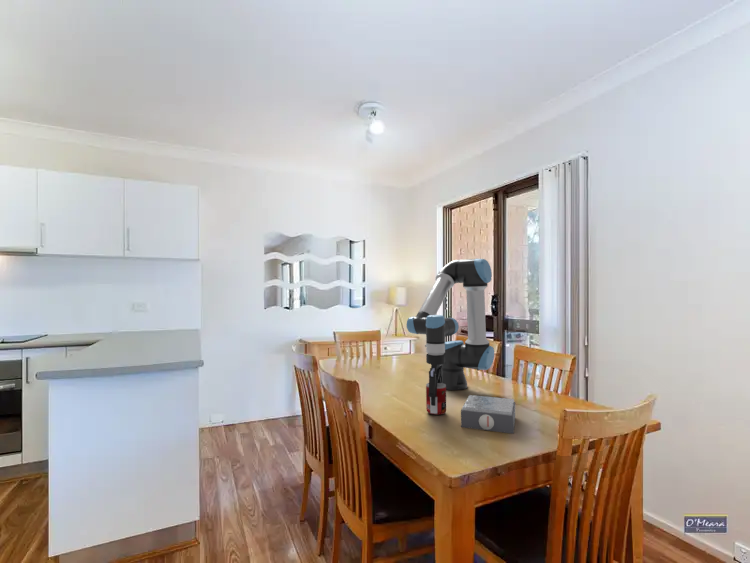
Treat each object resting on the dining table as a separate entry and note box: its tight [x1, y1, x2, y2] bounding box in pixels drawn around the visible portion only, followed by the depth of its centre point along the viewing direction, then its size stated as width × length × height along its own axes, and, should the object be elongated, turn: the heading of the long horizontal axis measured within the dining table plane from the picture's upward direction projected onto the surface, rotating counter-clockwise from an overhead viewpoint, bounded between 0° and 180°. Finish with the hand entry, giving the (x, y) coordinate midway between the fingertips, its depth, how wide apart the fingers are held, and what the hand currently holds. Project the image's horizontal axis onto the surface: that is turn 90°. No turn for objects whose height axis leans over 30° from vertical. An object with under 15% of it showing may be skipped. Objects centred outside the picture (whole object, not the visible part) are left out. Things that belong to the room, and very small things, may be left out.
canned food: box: [425, 382, 447, 416], centre depth 159 cm, size 8×8×11 cm
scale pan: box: [461, 394, 515, 416], centre depth 148 cm, size 17×17×1 cm
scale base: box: [460, 401, 516, 435], centre depth 147 cm, size 19×18×6 cm
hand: (436, 409), depth 159 cm, fingers closed on canned food, 8 cm apart
